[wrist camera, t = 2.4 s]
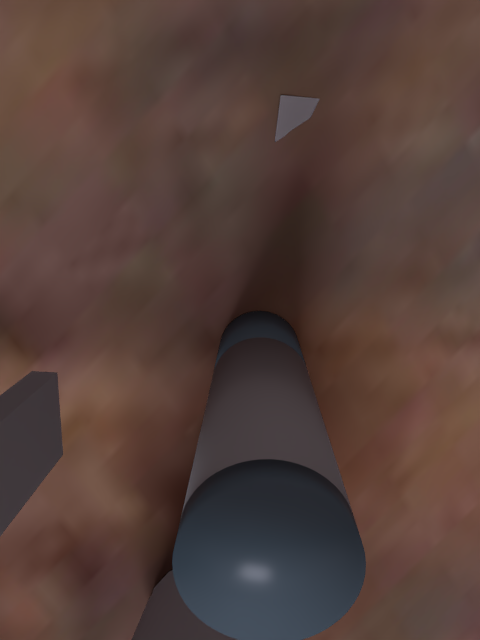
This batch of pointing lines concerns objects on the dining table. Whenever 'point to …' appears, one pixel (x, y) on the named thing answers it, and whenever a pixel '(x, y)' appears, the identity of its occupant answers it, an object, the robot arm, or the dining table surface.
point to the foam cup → (172, 617)
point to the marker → (266, 497)
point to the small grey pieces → (293, 113)
